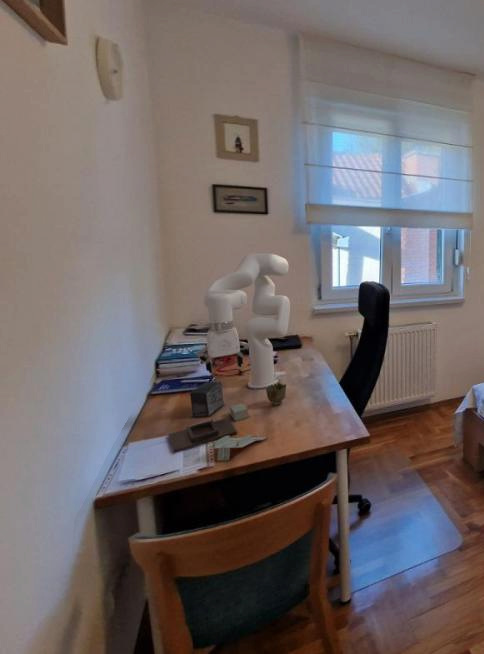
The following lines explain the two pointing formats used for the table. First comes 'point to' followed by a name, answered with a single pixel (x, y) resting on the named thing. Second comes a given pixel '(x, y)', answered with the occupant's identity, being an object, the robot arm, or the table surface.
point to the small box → (206, 399)
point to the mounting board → (201, 434)
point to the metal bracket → (231, 445)
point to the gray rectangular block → (239, 411)
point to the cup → (276, 393)
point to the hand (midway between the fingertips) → (225, 368)
